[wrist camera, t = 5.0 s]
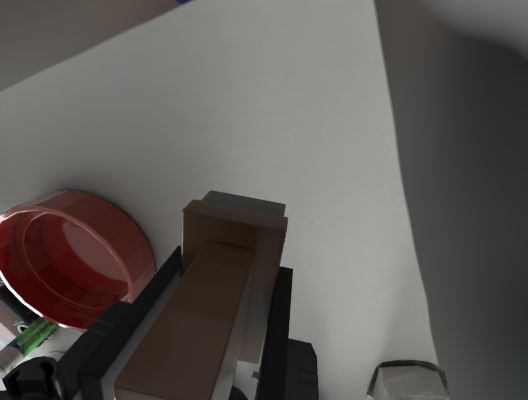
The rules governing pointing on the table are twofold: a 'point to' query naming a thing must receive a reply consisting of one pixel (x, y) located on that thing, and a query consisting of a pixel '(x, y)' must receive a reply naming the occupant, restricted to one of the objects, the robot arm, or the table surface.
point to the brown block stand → (211, 302)
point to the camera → (16, 314)
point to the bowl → (72, 257)
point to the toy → (236, 394)
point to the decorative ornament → (408, 382)
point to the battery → (24, 344)
